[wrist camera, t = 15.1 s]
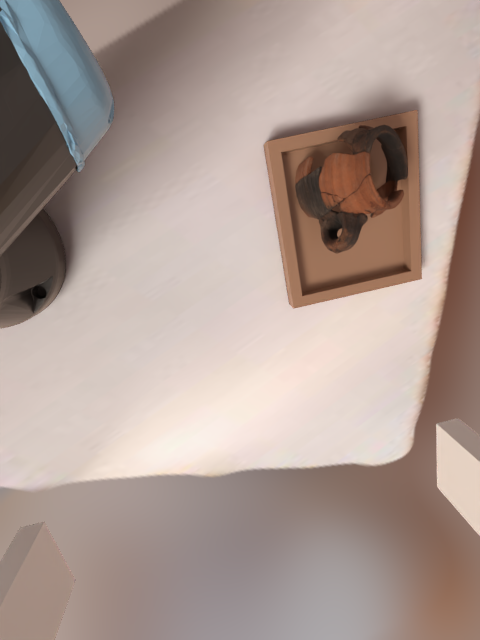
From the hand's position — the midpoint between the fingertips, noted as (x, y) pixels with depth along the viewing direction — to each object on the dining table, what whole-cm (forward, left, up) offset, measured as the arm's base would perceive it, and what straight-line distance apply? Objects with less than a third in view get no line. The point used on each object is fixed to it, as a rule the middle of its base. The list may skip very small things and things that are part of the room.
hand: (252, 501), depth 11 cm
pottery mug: (+15, +9, -28) cm, 33 cm away
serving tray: (+16, +6, -29) cm, 33 cm away
